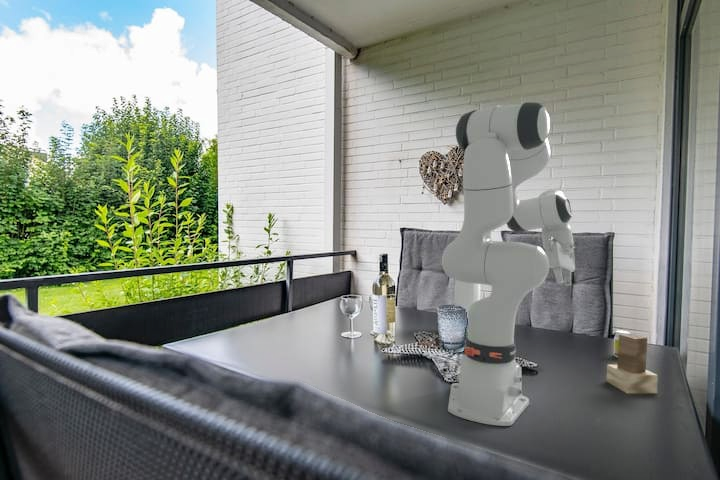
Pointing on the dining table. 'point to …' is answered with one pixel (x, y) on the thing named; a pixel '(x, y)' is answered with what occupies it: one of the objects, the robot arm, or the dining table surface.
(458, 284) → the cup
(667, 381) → the dining table surface
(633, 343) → the walnut block
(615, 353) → the supplement bottle
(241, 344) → the dining table surface
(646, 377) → the oak block
